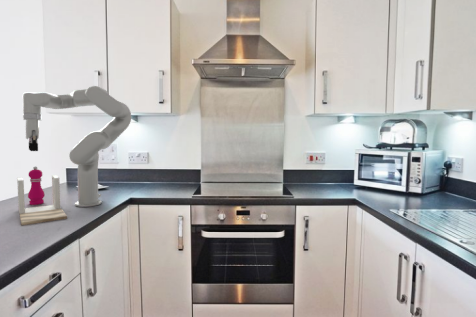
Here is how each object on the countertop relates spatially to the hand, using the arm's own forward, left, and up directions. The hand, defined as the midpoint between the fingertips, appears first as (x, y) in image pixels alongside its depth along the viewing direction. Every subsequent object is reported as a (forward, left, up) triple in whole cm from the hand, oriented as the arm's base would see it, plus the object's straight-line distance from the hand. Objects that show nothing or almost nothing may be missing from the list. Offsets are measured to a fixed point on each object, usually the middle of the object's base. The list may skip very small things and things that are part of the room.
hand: (33, 150), depth 144 cm
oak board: (+21, +20, -29) cm, 41 cm away
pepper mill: (-3, -1, -29) cm, 29 cm away
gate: (+9, +9, -29) cm, 31 cm away
